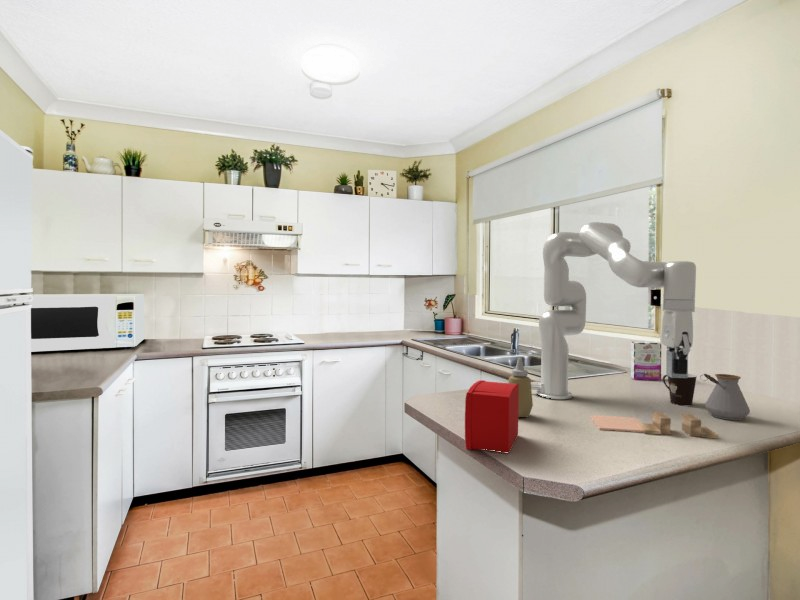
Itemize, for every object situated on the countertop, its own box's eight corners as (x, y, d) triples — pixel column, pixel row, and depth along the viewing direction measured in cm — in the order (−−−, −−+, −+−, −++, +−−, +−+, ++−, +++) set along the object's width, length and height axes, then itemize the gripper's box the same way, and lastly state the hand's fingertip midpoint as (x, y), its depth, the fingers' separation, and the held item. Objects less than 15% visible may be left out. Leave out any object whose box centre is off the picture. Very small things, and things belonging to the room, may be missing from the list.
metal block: (671, 377, 126) (671, 352, 126) (666, 374, 130) (666, 350, 130) (687, 378, 125) (687, 352, 125) (682, 375, 129) (682, 350, 129)
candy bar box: (656, 378, 203) (657, 341, 202) (661, 380, 198) (662, 342, 198) (629, 377, 205) (630, 340, 204) (633, 379, 200) (634, 342, 199)
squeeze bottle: (533, 413, 146) (534, 357, 145) (531, 420, 138) (532, 361, 138) (507, 411, 149) (508, 355, 148) (504, 418, 141) (505, 359, 140)
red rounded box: (479, 430, 129) (479, 377, 129) (518, 435, 125) (518, 380, 125) (464, 449, 114) (464, 389, 114) (508, 455, 110) (509, 393, 110)
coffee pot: (714, 409, 152) (716, 364, 151) (756, 418, 142) (757, 370, 142) (681, 419, 140) (683, 370, 140) (724, 429, 131) (726, 377, 130)
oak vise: (644, 433, 127) (645, 417, 126) (637, 426, 133) (637, 410, 133) (718, 438, 123) (718, 421, 123) (706, 430, 130) (706, 414, 130)
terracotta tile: (599, 429, 130) (599, 427, 130) (590, 417, 143) (590, 415, 143) (649, 433, 127) (649, 430, 127) (635, 419, 140) (635, 417, 140)
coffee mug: (700, 407, 155) (701, 377, 155) (672, 405, 157) (672, 376, 156) (686, 398, 166) (686, 371, 166) (660, 397, 168) (660, 370, 168)
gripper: (653, 304, 136) (651, 366, 137) (675, 307, 120) (673, 377, 120) (681, 305, 135) (679, 367, 135) (707, 308, 118) (705, 378, 119)
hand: (676, 371), depth 128 cm, fingers closed on metal block, 4 cm apart
